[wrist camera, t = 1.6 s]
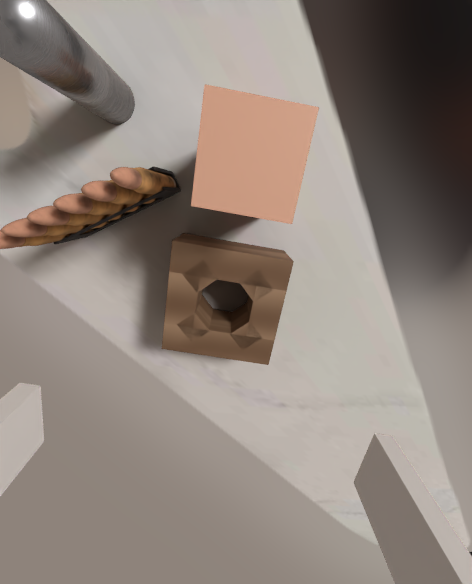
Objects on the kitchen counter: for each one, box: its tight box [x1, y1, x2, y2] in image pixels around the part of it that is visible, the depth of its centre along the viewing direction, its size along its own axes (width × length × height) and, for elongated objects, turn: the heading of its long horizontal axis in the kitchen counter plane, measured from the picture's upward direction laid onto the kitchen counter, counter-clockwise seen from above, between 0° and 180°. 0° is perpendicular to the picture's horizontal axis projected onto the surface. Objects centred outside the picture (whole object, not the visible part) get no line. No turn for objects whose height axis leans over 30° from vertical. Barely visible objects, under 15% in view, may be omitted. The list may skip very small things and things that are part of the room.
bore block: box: [162, 233, 294, 365], centre depth 26 cm, size 10×10×5 cm
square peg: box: [191, 85, 319, 224], centre depth 20 cm, size 6×6×12 cm
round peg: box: [0, 0, 135, 124], centre depth 18 cm, size 3×3×12 cm
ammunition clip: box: [0, 167, 181, 249], centre depth 20 cm, size 11×2×12 cm, turn 114°
